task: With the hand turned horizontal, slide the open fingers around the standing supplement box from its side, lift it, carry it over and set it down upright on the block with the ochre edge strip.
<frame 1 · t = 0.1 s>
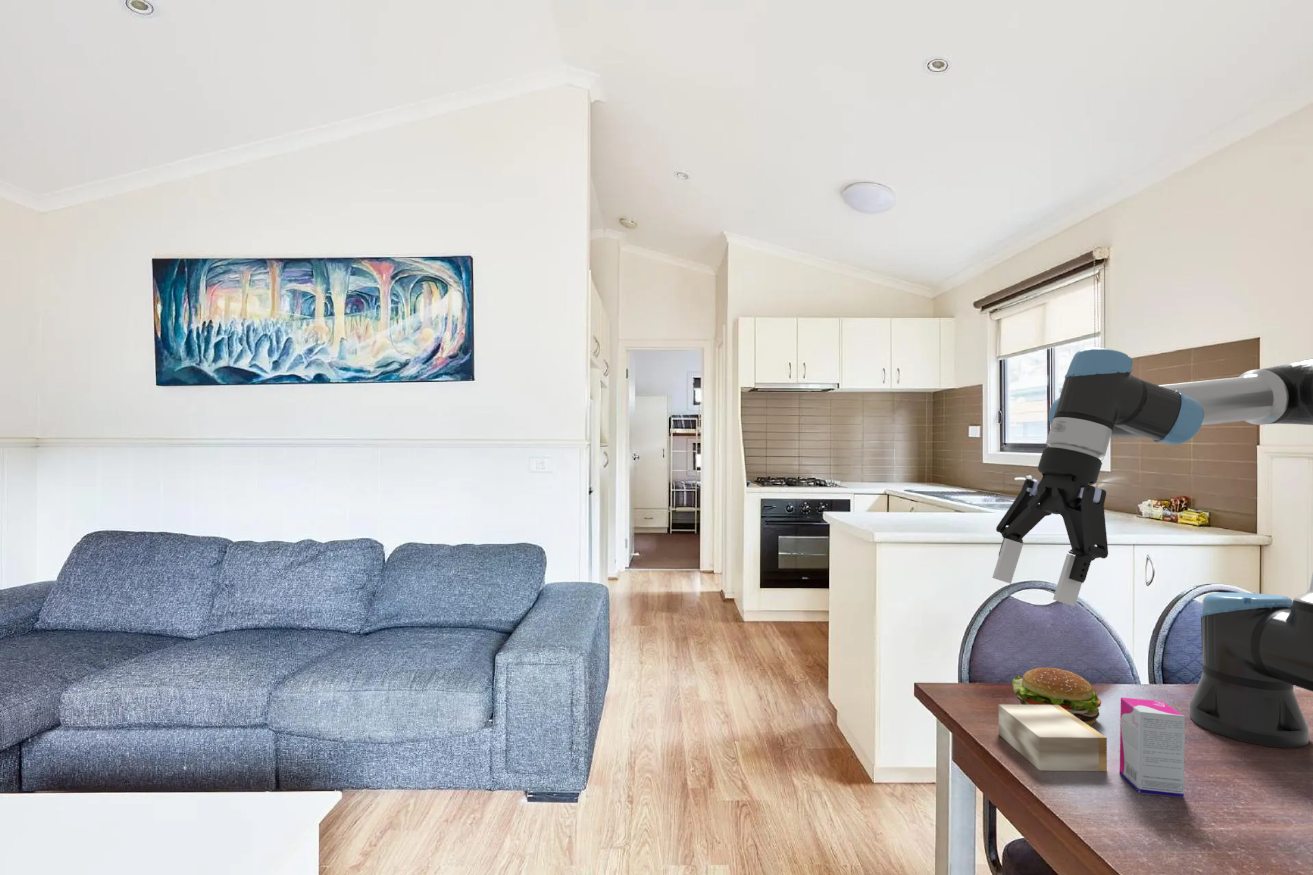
hand: (1030, 591, 94), 28 cm above the table, tool tilted 20°, fingers open, 13 cm apart
block: (1049, 751, 103), on the table
supplement box: (1151, 786, 93), on the table
food: (1053, 715, 117), on the table
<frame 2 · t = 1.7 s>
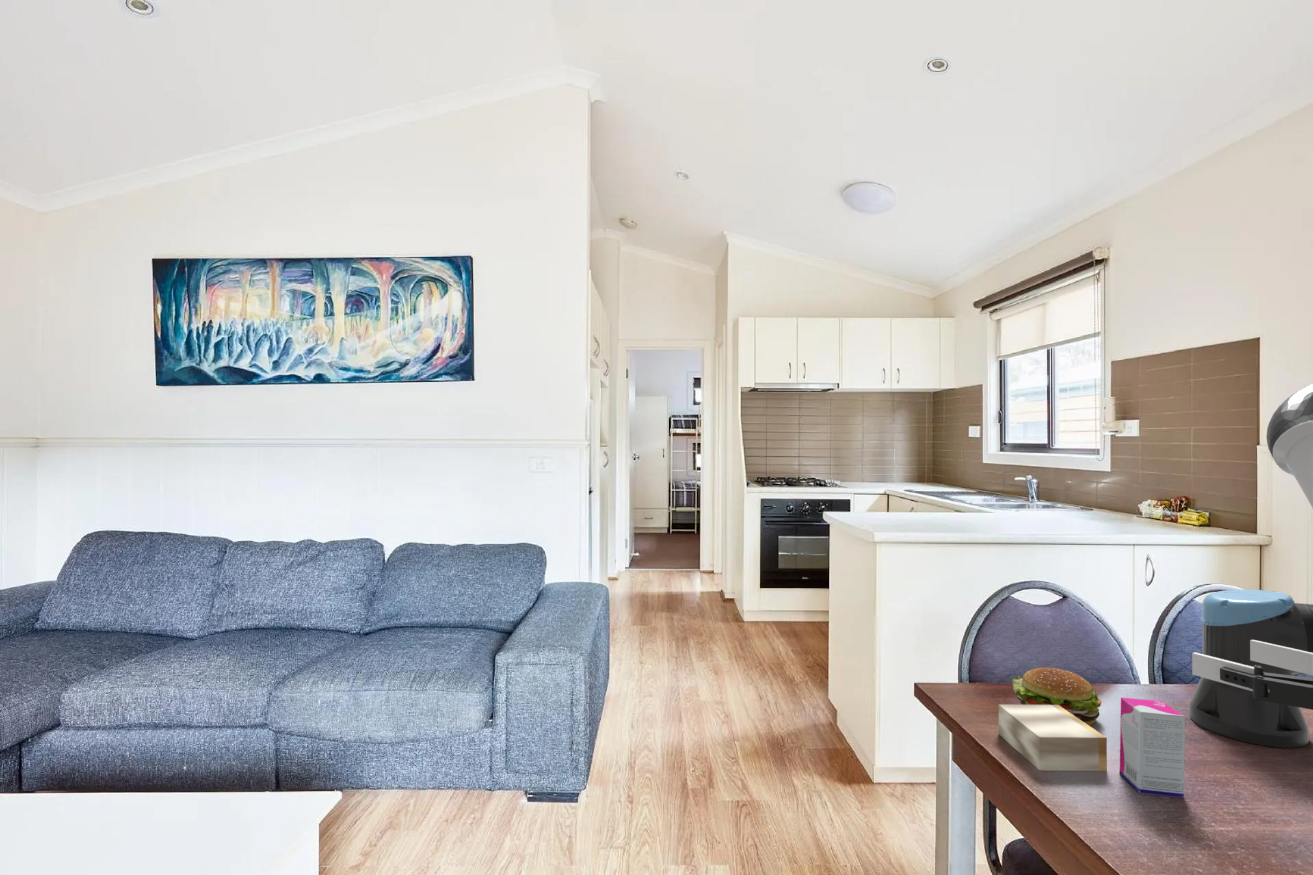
hand: (1223, 656, 85), 21 cm above the table, tool horizontal, fingers open, 13 cm apart
nothing on the table moved.
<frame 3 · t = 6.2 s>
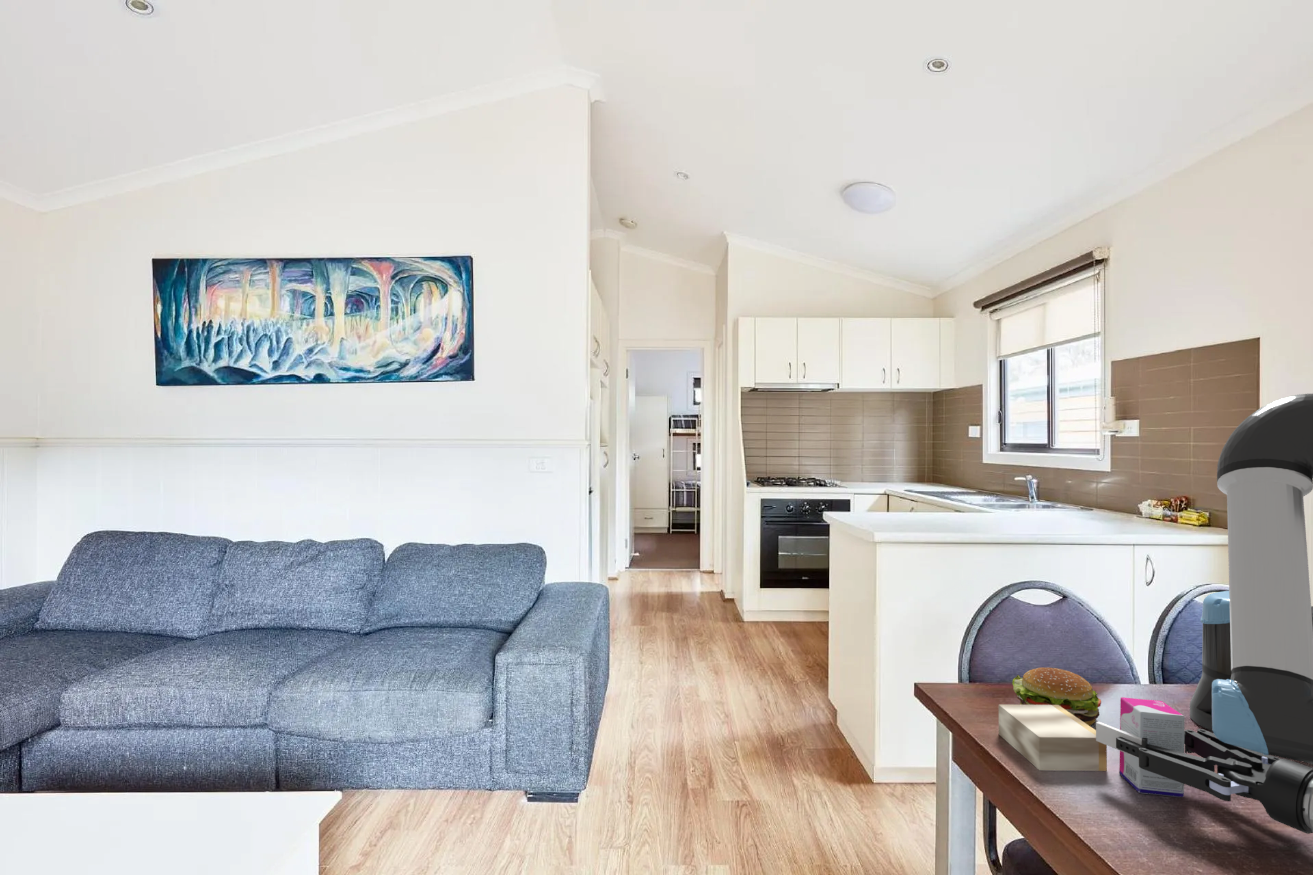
hand: (1115, 725, 97), 7 cm above the table, tool horizontal, fingers closed on supplement box, 8 cm apart
supplement box: (1150, 786, 93), on the table, touching gripper
everything else where it was.
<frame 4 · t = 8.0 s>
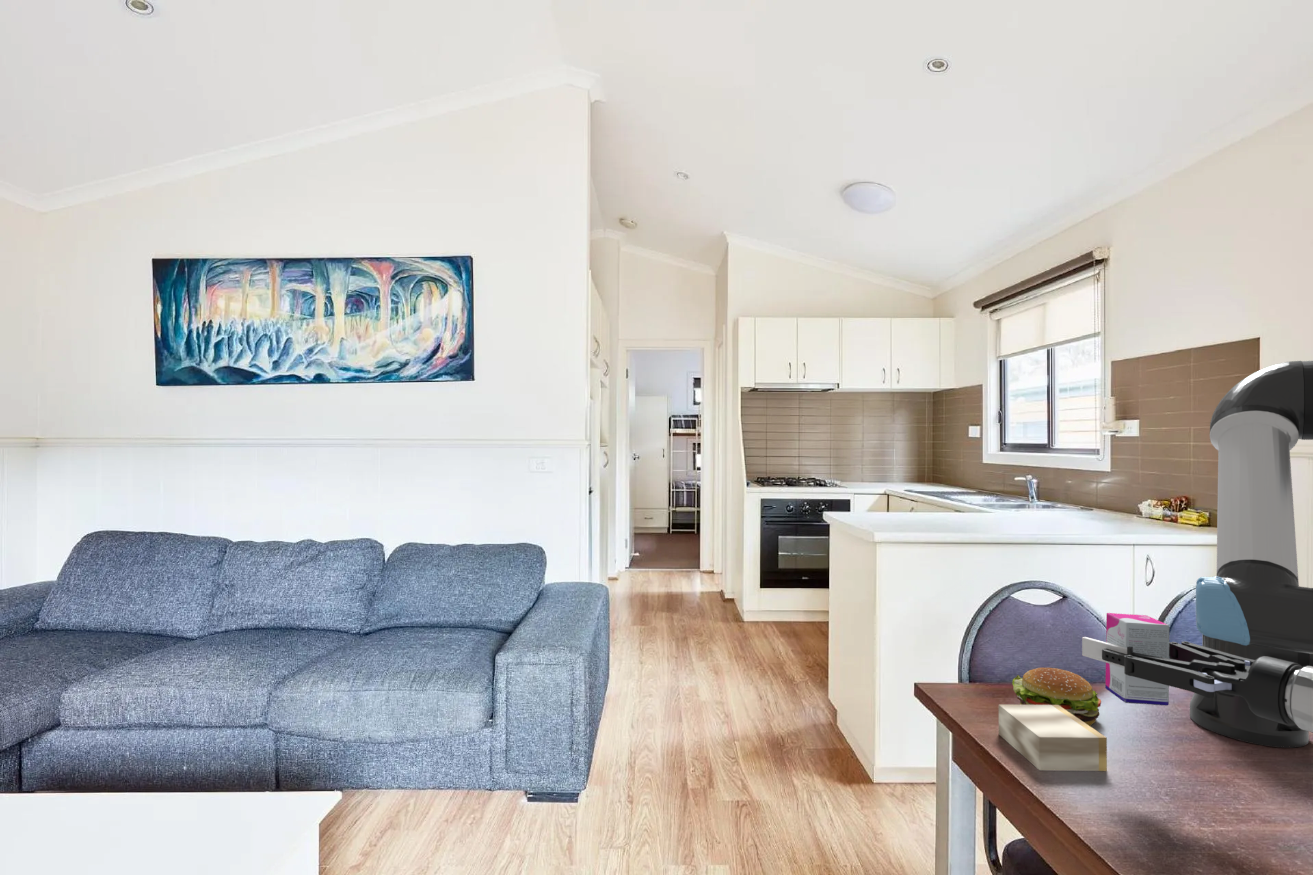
hand: (1101, 642, 98), 19 cm above the table, tool horizontal, fingers closed on supplement box, 8 cm apart
supplement box: (1136, 698, 94), point 12 cm above the table, touching gripper
everything else where it was.
when the fingers open (13 cm above the table, at t = 10.2 s): supplement box drops 1 cm, resting on block.
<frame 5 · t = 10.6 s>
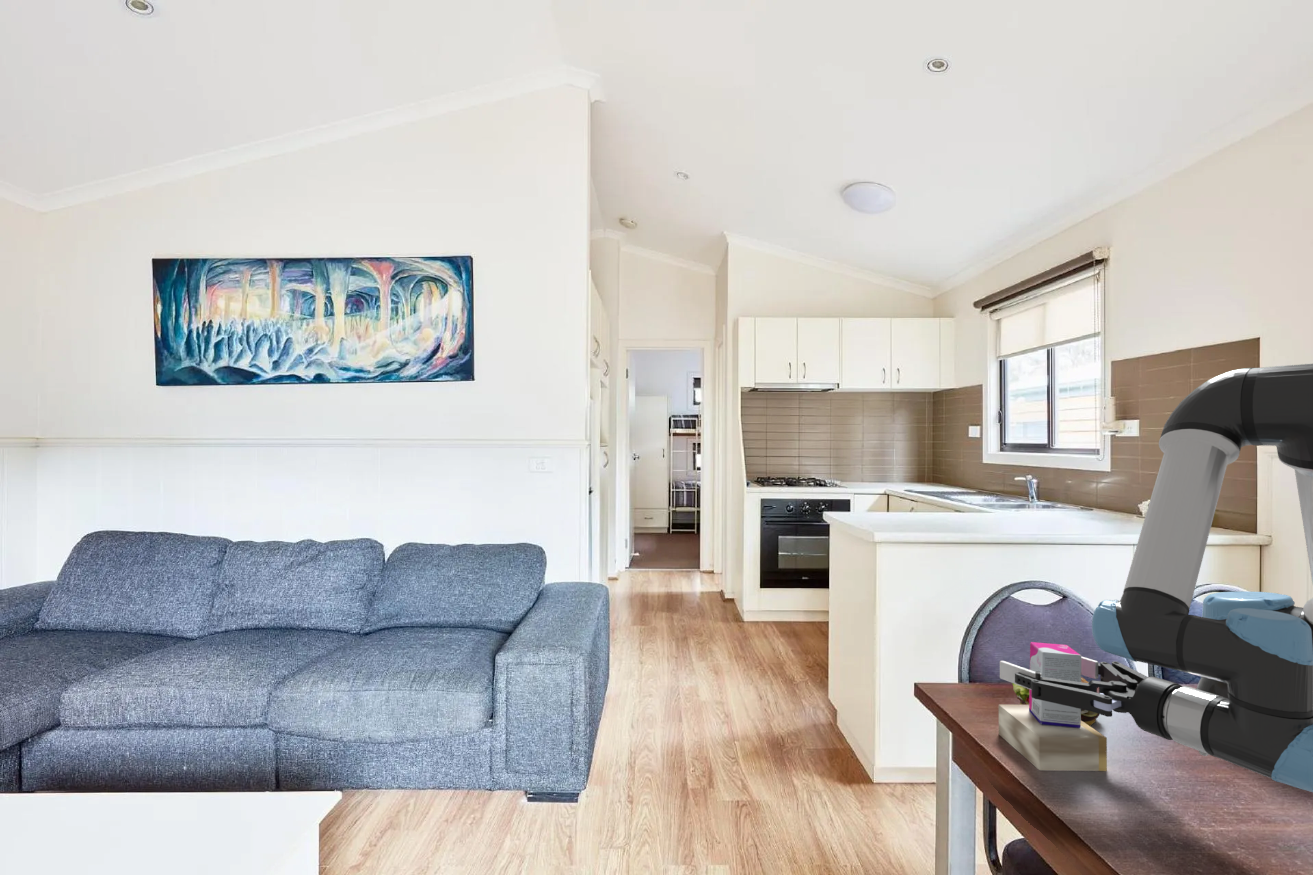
hand: (1029, 663, 106), 13 cm above the table, tool horizontal, fingers open, 13 cm apart
supplement box: (1054, 720, 103), point 5 cm above the table, touching block
everything else where it was.
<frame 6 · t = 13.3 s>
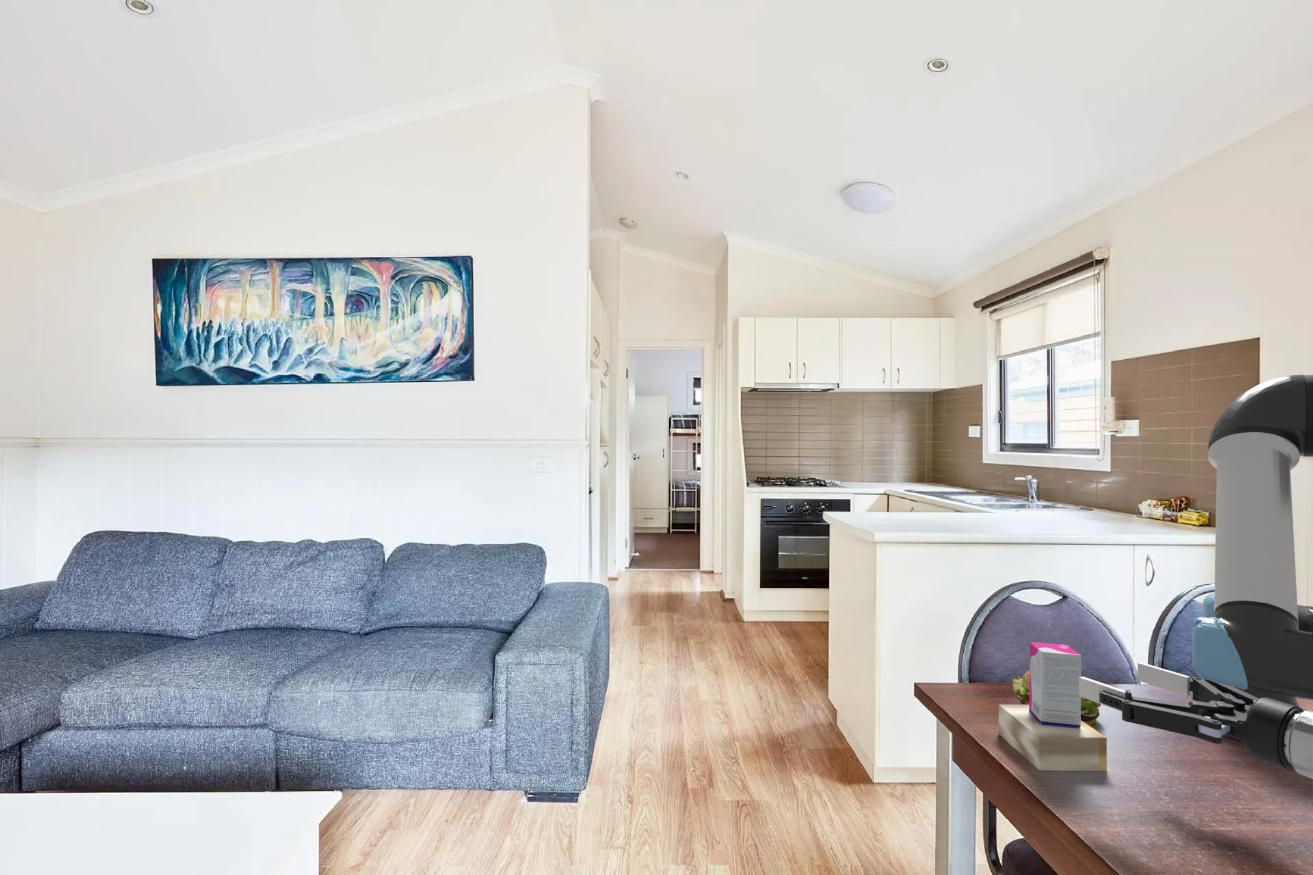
hand: (1110, 678, 95), 14 cm above the table, tool horizontal, fingers open, 13 cm apart
nothing on the table moved.
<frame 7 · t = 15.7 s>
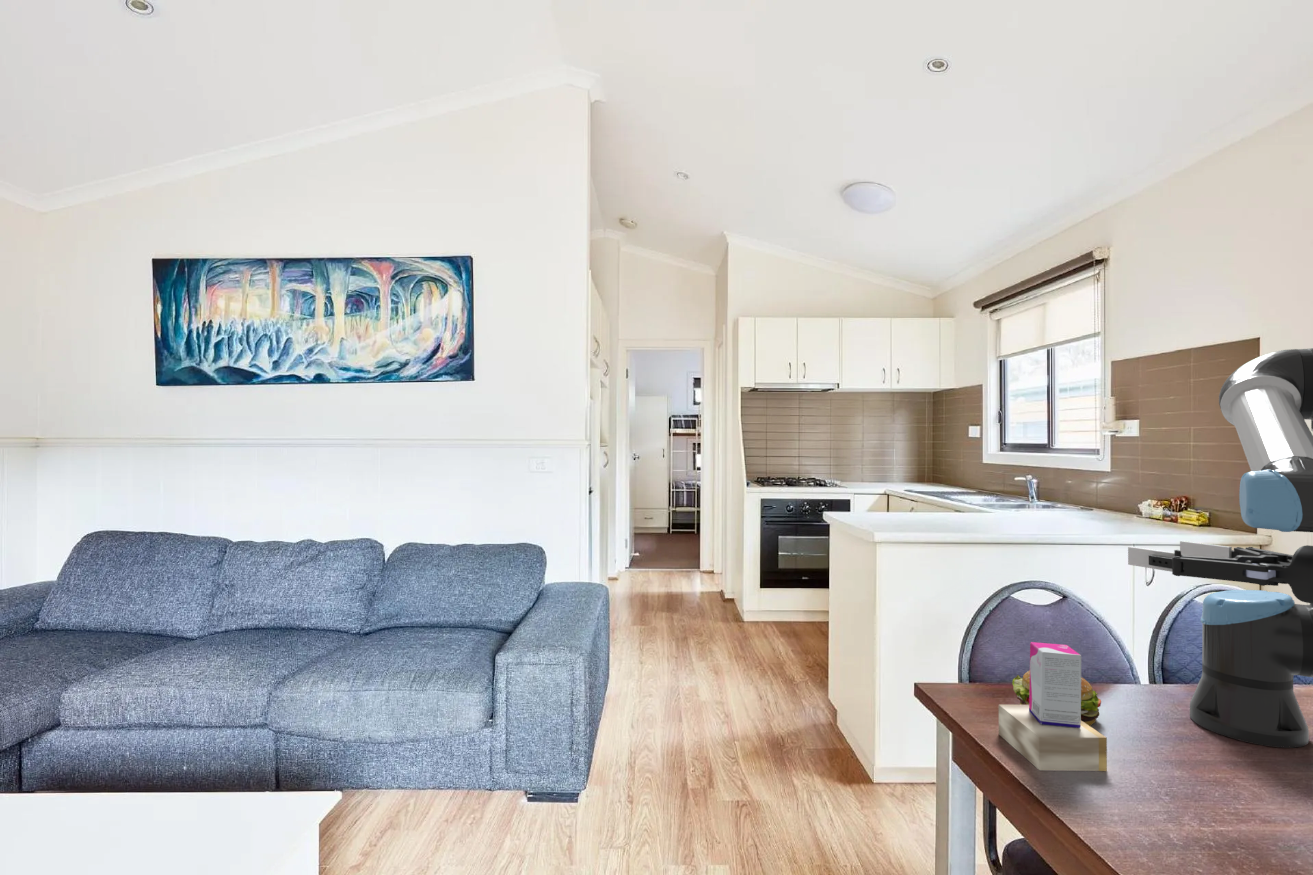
hand: (1155, 552, 102), 32 cm above the table, tool horizontal, fingers open, 13 cm apart
nothing on the table moved.
at the end: supplement box inside the target area on the block (1.0 cm from its centre), point 4.8 cm above the block's base; supplement box tilted 0°; the gripper is holding nothing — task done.
